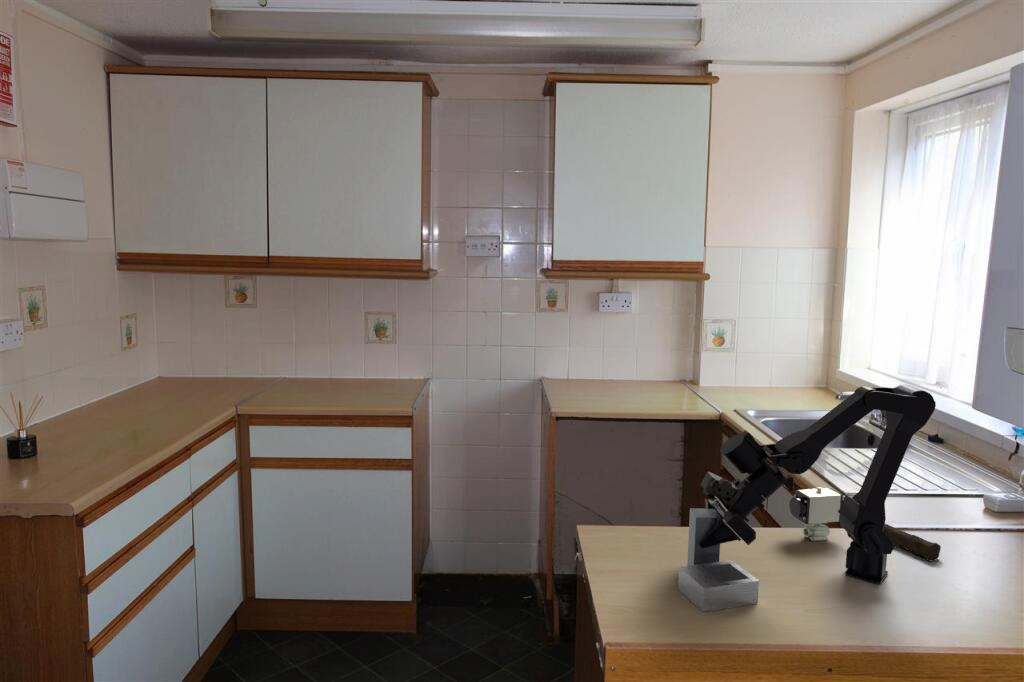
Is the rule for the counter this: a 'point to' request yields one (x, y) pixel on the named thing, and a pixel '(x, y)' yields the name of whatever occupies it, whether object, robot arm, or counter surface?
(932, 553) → the hand tool
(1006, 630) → the counter surface
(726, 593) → the block with rectangular hole
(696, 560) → the peg
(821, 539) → the pneumatic valve
